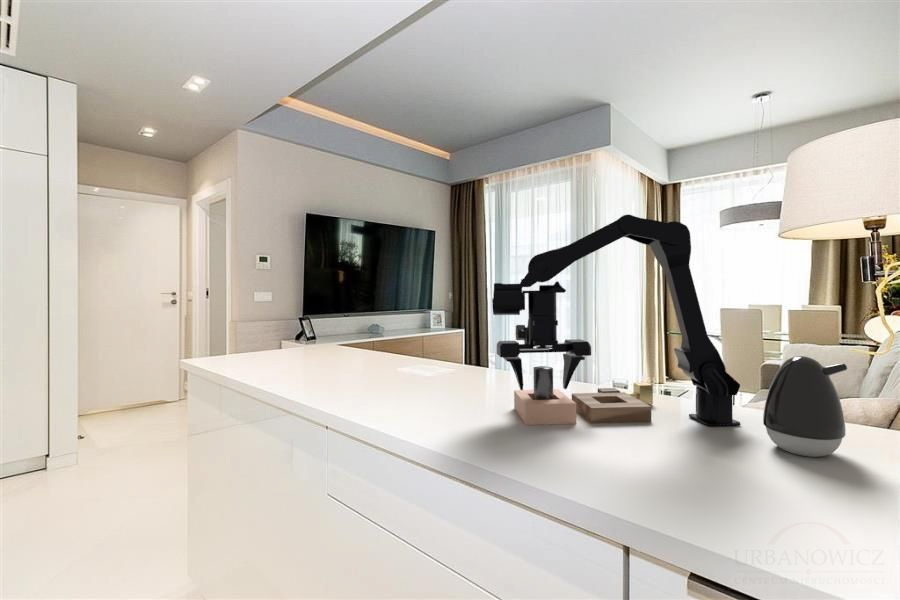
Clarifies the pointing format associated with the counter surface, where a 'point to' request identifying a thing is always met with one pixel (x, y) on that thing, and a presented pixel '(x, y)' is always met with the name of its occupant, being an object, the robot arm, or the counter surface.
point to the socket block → (611, 407)
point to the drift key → (643, 392)
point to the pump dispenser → (805, 408)
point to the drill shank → (543, 383)
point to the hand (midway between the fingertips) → (543, 389)
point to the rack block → (544, 408)
